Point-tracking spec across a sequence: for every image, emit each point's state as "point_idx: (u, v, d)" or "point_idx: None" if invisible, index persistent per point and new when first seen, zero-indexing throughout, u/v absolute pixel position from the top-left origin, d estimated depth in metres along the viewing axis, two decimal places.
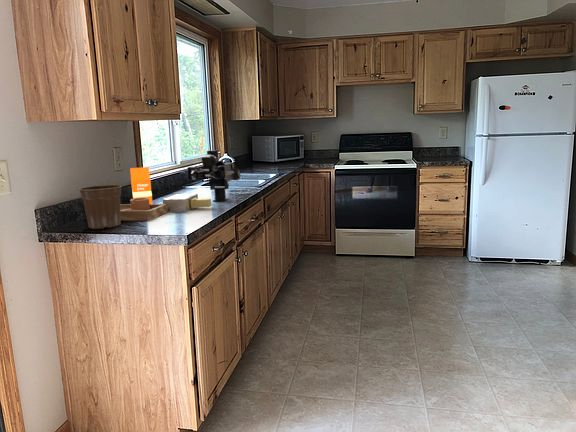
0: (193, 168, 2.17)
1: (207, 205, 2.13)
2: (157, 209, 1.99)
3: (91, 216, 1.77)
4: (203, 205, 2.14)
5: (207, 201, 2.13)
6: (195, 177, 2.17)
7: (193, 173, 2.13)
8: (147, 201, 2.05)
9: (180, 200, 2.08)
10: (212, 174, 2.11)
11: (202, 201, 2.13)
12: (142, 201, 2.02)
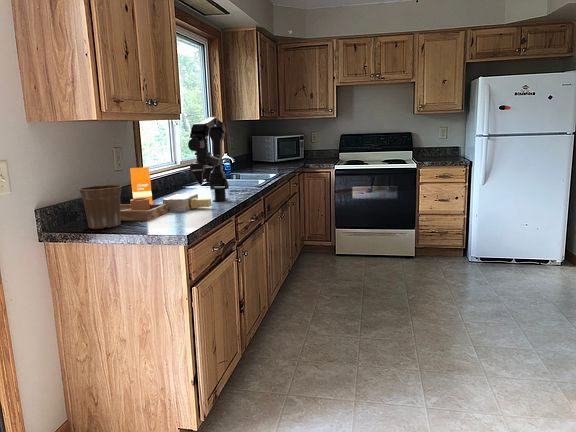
0: (204, 171, 2.06)
1: (207, 205, 2.13)
2: (157, 209, 1.99)
3: (91, 216, 1.77)
4: (203, 205, 2.14)
5: (207, 201, 2.13)
6: None
7: None
8: (147, 201, 2.05)
9: (180, 200, 2.08)
10: None
11: (202, 201, 2.13)
12: (142, 201, 2.02)
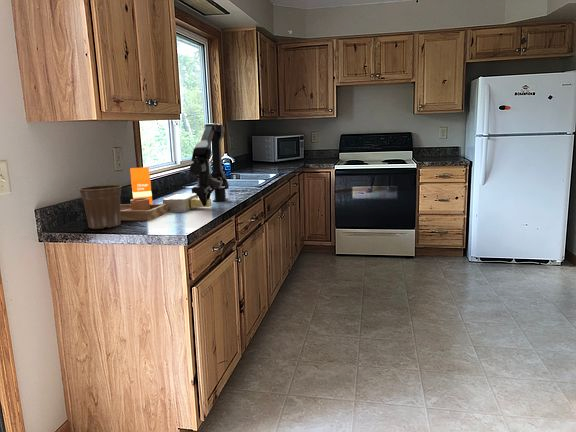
0: (207, 193, 2.10)
1: (207, 205, 2.13)
2: (157, 209, 1.99)
3: (91, 216, 1.77)
4: None
5: (207, 201, 2.13)
6: None
7: None
8: (147, 201, 2.05)
9: (180, 200, 2.08)
10: None
11: None
12: (142, 201, 2.02)
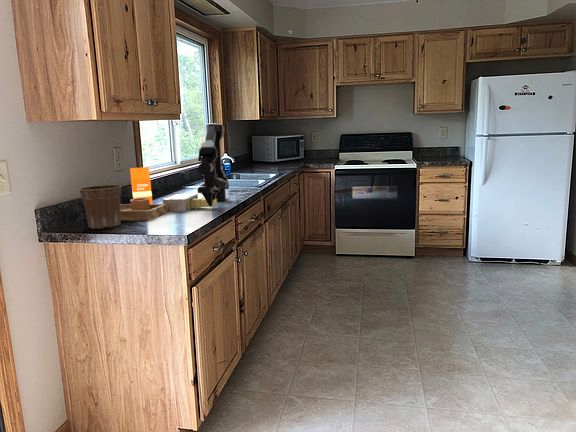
0: (213, 193, 2.10)
1: (213, 205, 2.13)
2: (157, 209, 1.99)
3: (91, 216, 1.77)
4: None
5: (213, 201, 2.12)
6: None
7: None
8: (147, 201, 2.05)
9: (180, 200, 2.08)
10: None
11: None
12: (142, 201, 2.02)
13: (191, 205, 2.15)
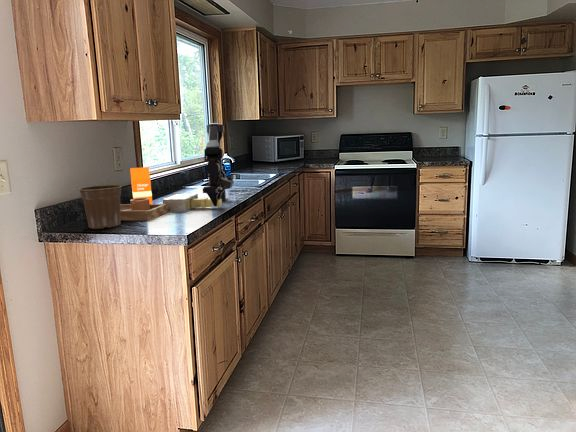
0: (218, 193, 2.09)
1: (218, 205, 2.12)
2: (157, 209, 1.99)
3: (91, 216, 1.77)
4: None
5: (218, 201, 2.12)
6: None
7: None
8: (147, 201, 2.05)
9: (180, 200, 2.08)
10: None
11: None
12: (142, 201, 2.02)
13: (196, 205, 2.14)
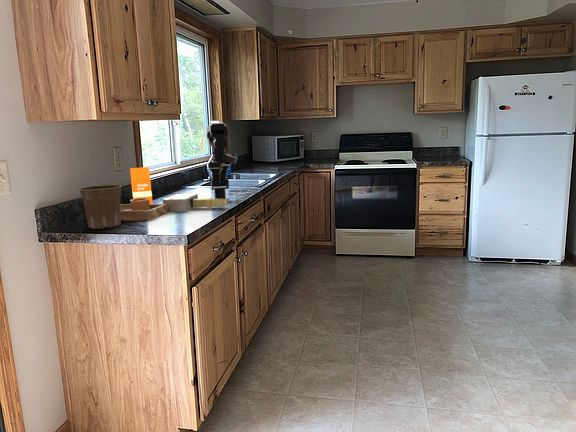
0: (221, 169, 2.13)
1: (223, 205, 2.12)
2: (157, 209, 1.99)
3: (91, 216, 1.77)
4: (219, 205, 2.12)
5: (223, 201, 2.11)
6: None
7: None
8: (147, 201, 2.05)
9: (180, 200, 2.08)
10: None
11: (218, 201, 2.12)
12: (142, 202, 2.02)
13: (201, 205, 2.14)
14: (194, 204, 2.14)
